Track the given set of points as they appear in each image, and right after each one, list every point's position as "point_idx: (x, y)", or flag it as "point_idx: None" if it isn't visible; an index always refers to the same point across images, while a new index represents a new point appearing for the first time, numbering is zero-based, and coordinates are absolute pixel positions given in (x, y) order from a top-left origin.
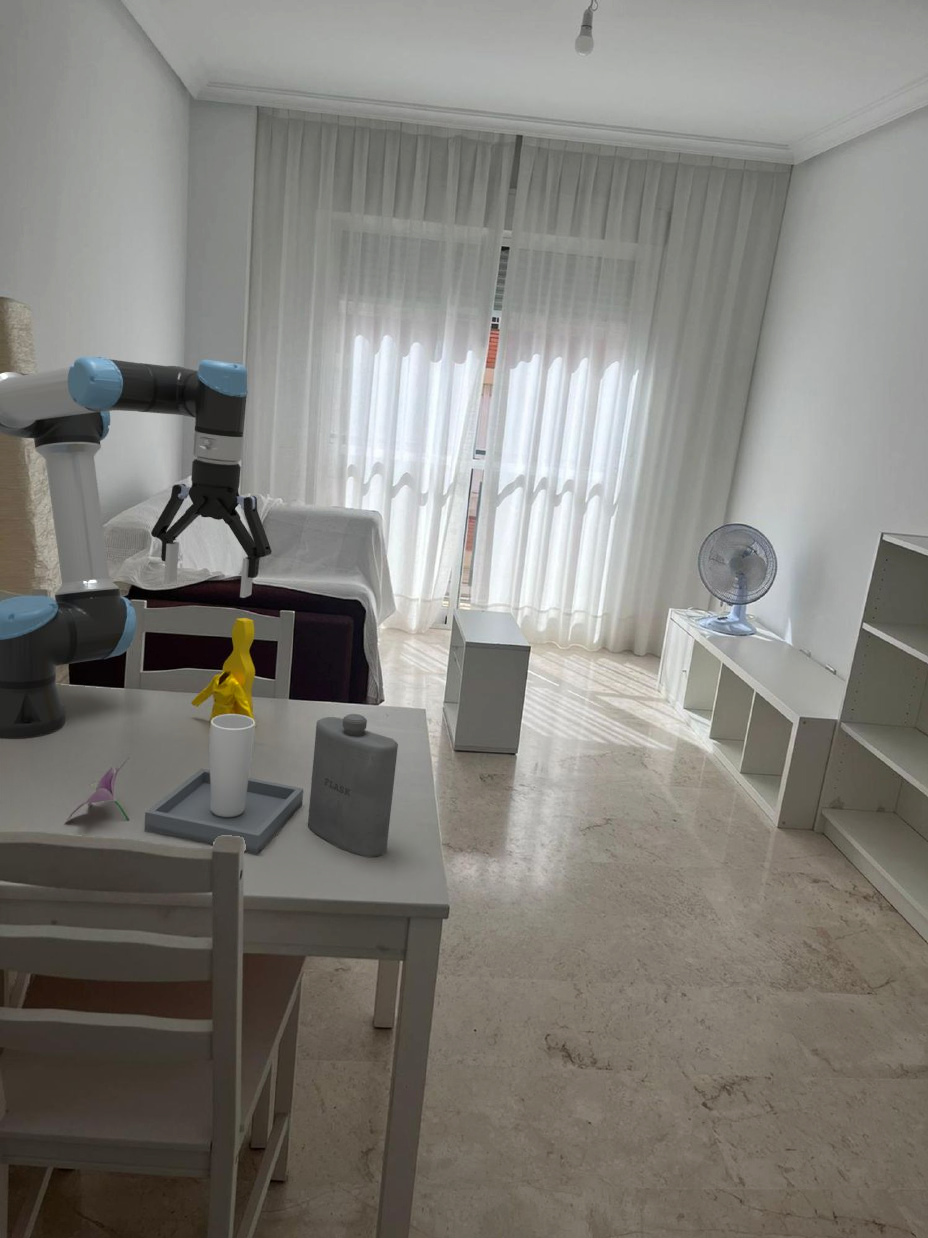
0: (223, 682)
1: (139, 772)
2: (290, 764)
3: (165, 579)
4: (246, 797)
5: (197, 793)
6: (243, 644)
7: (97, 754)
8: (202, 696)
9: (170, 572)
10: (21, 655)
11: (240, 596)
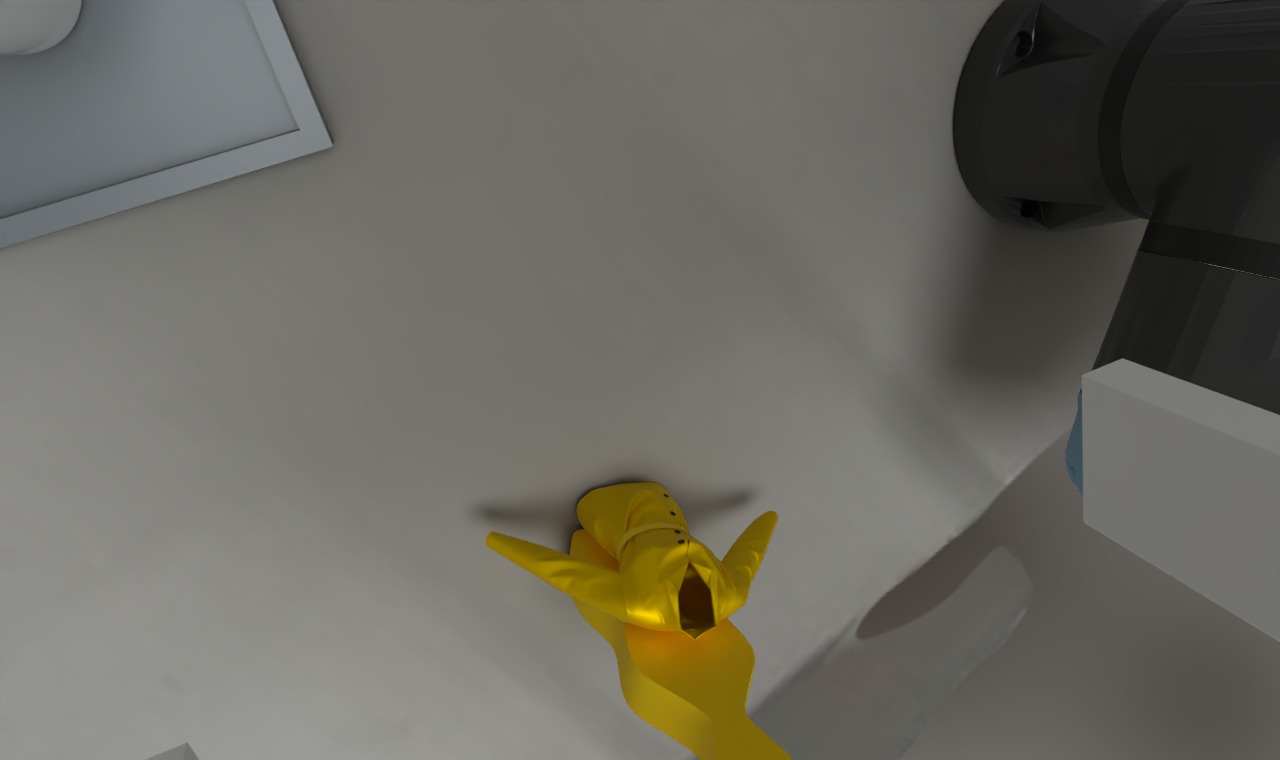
0: (678, 581)
1: (563, 77)
2: (261, 491)
3: (1140, 372)
4: (72, 138)
5: (237, 36)
6: (713, 754)
7: (757, 92)
8: (749, 537)
9: (1186, 450)
10: (1265, 23)
11: (177, 753)
